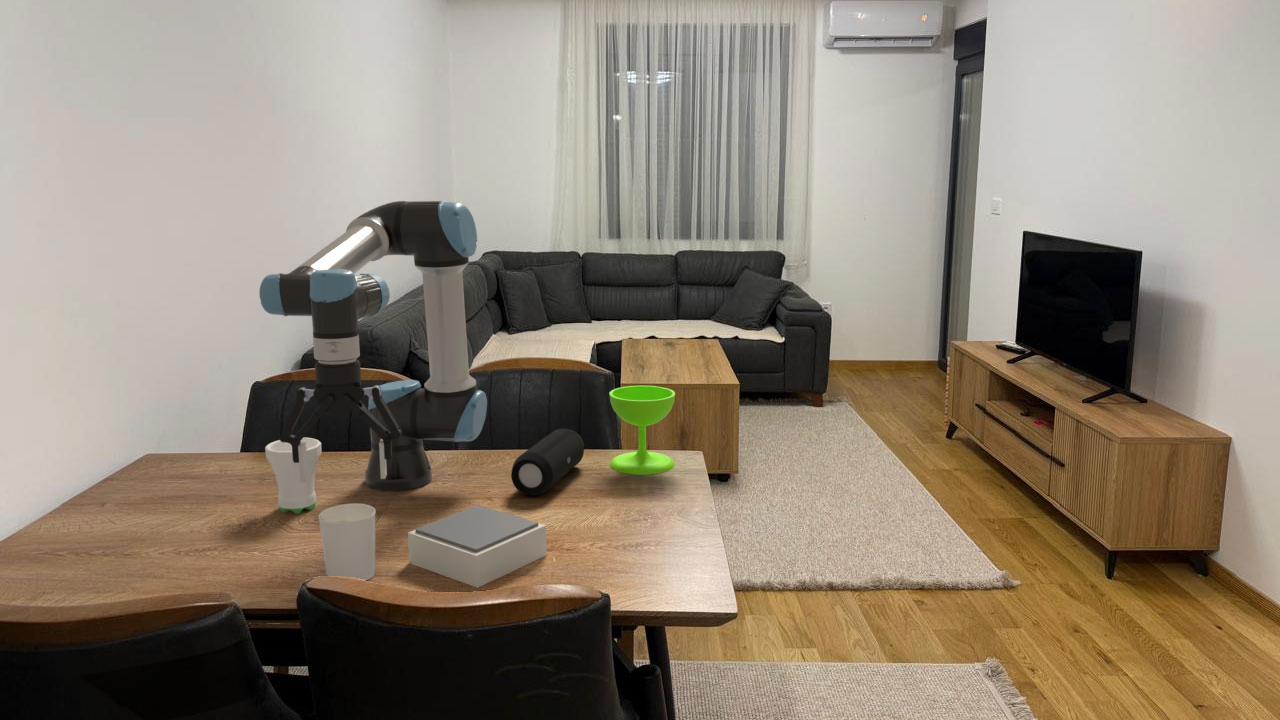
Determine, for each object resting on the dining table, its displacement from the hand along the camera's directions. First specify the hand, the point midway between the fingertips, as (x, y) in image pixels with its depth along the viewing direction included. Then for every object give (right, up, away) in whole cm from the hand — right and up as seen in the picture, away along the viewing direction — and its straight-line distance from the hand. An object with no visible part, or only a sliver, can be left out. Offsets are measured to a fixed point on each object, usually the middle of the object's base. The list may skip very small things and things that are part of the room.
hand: (344, 478), depth 173 cm
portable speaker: (+31, -8, +56) cm, 64 cm away
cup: (-21, -11, +38) cm, 45 cm away
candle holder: (0, -18, +4) cm, 19 cm away
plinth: (+22, -16, +11) cm, 30 cm away
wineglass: (+53, -5, +68) cm, 86 cm away
